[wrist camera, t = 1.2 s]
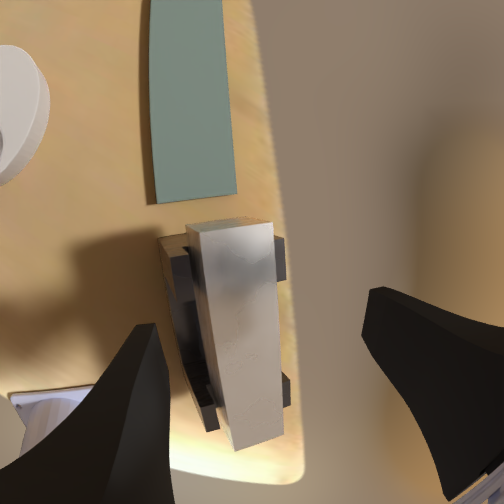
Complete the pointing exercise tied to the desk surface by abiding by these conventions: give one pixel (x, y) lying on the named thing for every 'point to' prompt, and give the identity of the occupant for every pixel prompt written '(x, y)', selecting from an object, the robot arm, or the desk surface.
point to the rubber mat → (189, 101)
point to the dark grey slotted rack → (189, 327)
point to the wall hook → (20, 110)
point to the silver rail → (239, 324)
